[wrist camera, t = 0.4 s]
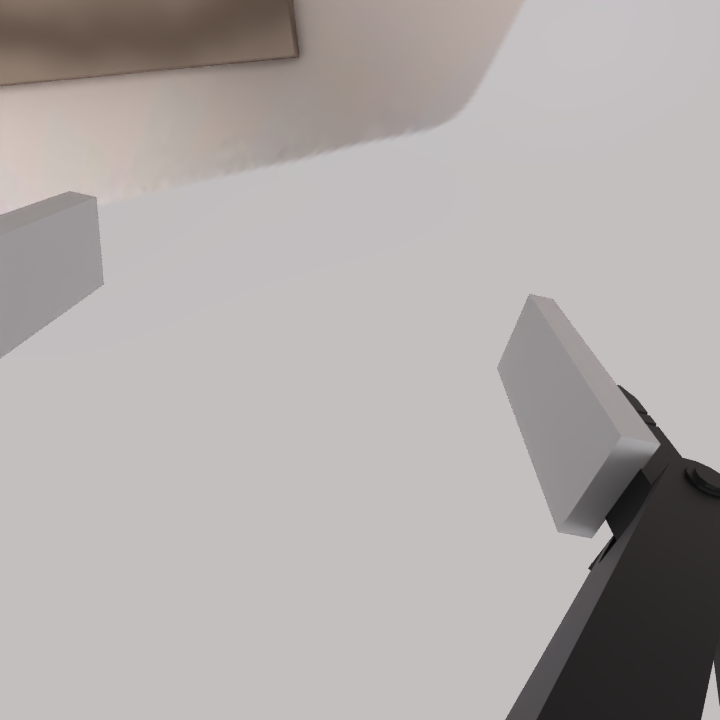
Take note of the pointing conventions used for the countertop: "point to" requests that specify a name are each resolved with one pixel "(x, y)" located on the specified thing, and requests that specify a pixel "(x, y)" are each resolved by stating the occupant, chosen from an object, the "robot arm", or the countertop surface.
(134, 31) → the wooden tray
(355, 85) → the countertop surface
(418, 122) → the countertop surface
